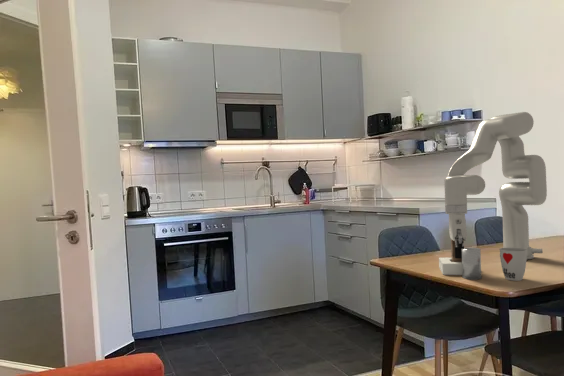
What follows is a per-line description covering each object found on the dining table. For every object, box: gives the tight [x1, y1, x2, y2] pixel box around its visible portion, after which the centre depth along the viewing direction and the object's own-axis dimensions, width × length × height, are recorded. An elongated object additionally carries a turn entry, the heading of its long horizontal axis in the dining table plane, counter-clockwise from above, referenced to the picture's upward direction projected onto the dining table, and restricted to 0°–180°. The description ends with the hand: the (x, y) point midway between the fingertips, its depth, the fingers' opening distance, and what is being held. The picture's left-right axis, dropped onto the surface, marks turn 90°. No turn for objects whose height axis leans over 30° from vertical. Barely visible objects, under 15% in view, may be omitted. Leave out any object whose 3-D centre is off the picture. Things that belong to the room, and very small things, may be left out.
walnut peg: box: [450, 238, 465, 262], centre depth 160 cm, size 4×4×12 cm
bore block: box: [438, 257, 462, 276], centre depth 160 cm, size 12×12×4 cm
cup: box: [499, 247, 528, 282], centre depth 146 cm, size 8×8×10 cm
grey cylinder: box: [461, 247, 482, 281], centre depth 150 cm, size 6×6×10 cm
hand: (457, 255), depth 160 cm, fingers open, 9 cm apart
